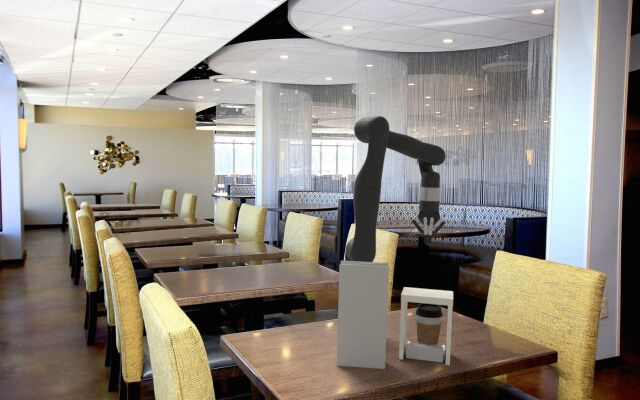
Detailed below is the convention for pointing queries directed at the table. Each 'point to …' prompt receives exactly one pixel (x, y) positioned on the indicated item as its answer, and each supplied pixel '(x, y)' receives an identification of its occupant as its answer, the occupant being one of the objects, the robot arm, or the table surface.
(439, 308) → the coffee cup
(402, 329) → the white rectangular frame
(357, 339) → the tall white box
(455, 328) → the table surface
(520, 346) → the table surface
